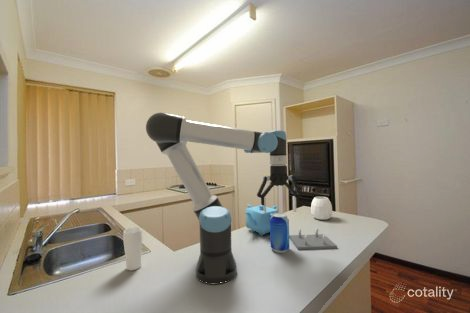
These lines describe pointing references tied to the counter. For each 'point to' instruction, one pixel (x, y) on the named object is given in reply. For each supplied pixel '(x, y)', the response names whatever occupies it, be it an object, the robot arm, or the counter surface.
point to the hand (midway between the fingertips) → (279, 211)
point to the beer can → (279, 232)
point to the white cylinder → (133, 247)
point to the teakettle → (259, 218)
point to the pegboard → (312, 241)
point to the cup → (321, 208)
